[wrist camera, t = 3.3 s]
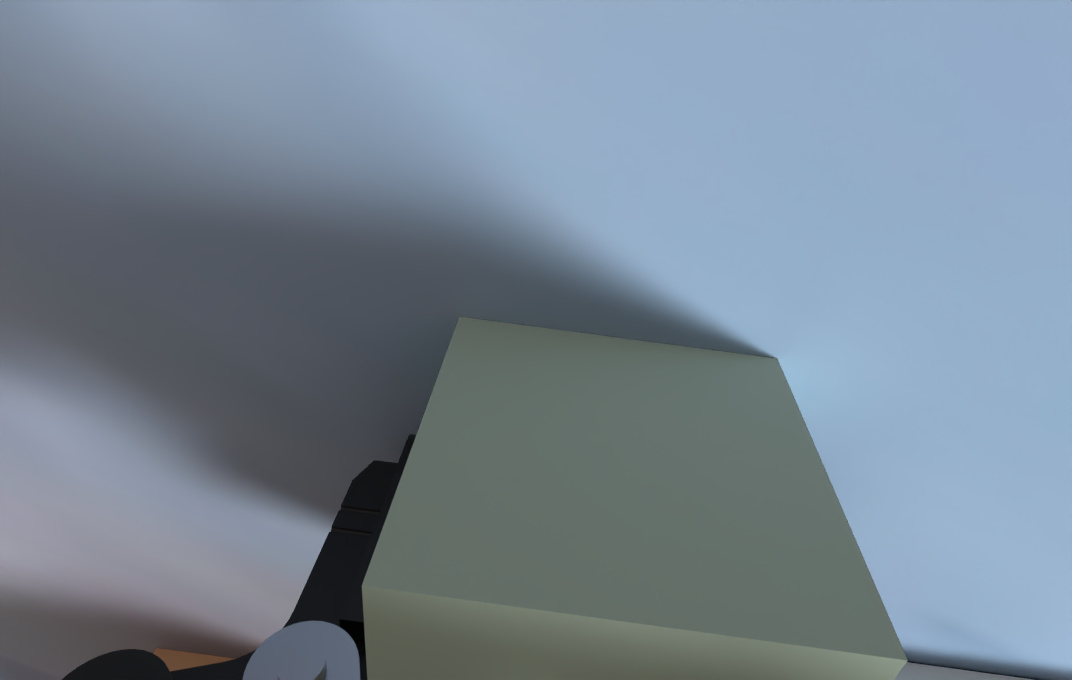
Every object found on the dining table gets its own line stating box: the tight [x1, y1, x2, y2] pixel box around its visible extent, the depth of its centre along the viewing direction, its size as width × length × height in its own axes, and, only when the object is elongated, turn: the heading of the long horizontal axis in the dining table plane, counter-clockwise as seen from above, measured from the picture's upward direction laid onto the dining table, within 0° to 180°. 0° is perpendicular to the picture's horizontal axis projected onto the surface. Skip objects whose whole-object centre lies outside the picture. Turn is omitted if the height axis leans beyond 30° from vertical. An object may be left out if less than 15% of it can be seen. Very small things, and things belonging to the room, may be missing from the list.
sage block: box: [362, 317, 908, 680], centre depth 10 cm, size 6×5×5 cm
